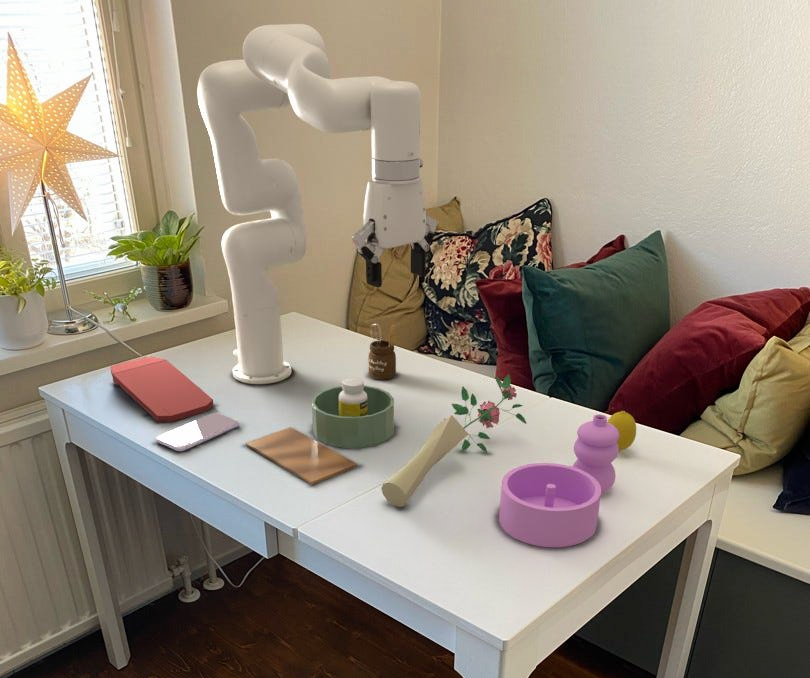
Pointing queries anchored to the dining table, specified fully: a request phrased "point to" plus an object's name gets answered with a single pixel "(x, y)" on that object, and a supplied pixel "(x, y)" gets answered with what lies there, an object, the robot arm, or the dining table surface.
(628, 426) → the lemon
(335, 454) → the wooden board
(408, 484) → the flower vase
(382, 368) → the utensil holder
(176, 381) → the red wedge block
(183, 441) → the mobile phone
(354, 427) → the bowl
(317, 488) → the dining table surface
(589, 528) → the container set
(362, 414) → the supplement bottle
